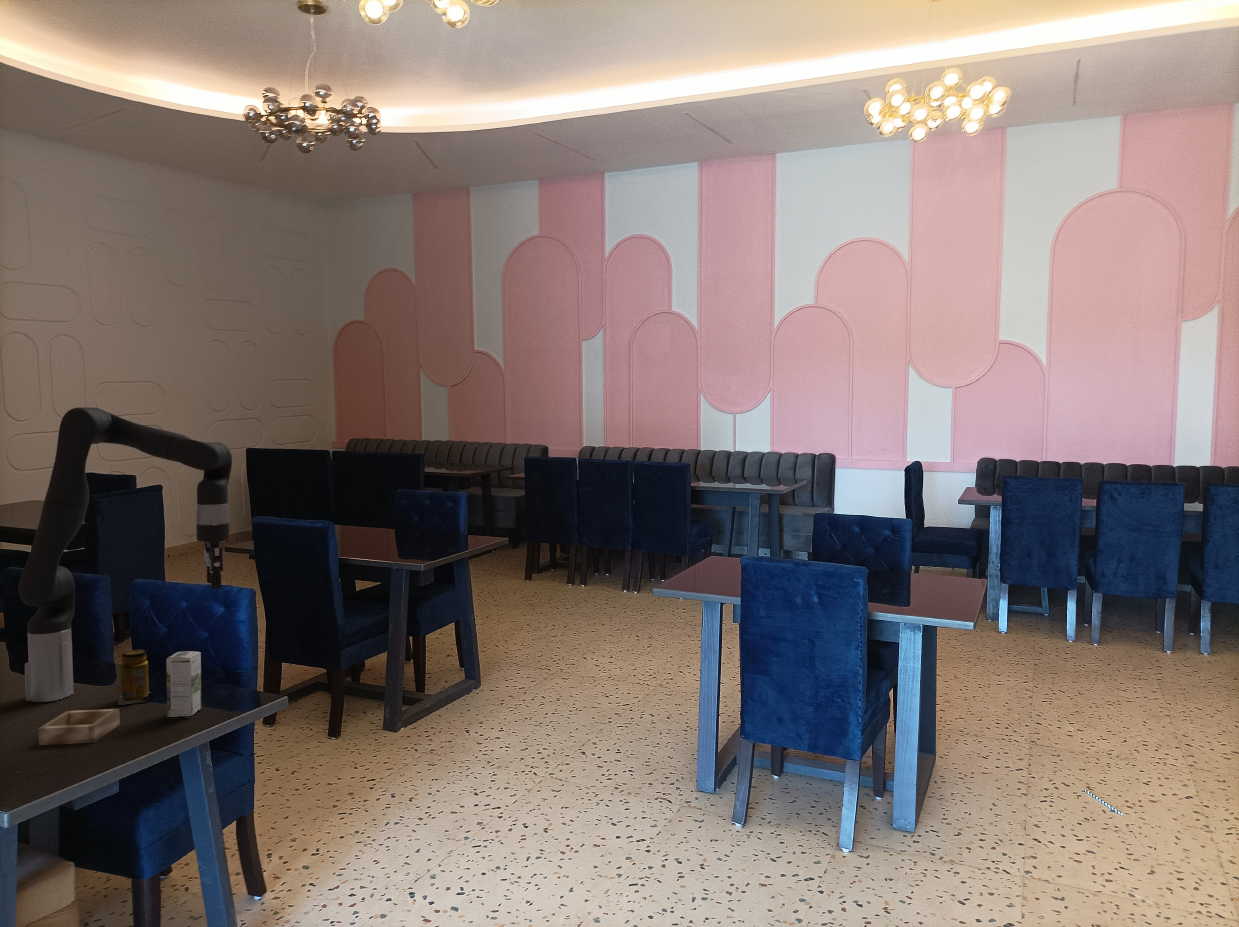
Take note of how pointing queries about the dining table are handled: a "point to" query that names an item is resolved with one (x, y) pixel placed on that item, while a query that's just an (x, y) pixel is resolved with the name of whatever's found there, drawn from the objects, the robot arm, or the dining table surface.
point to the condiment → (134, 675)
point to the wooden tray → (79, 726)
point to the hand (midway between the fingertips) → (213, 585)
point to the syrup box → (183, 683)
